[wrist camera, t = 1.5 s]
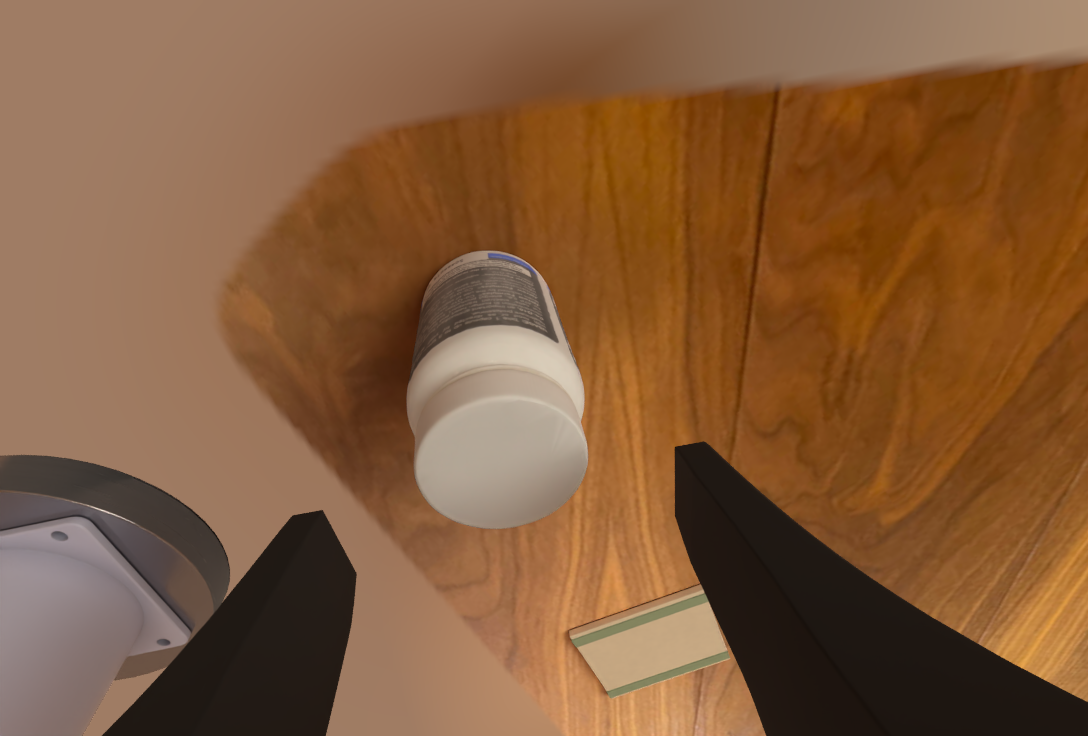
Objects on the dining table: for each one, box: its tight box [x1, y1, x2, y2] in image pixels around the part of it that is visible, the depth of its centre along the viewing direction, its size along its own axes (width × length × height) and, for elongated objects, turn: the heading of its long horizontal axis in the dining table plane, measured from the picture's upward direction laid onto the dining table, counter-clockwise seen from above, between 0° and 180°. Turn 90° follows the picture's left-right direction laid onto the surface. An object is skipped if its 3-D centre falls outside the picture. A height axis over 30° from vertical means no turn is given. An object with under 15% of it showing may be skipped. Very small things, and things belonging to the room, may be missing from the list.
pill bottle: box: [407, 251, 588, 529], centre depth 15 cm, size 5×5×8 cm
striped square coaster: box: [569, 584, 730, 698], centre depth 31 cm, size 8×8×1 cm
